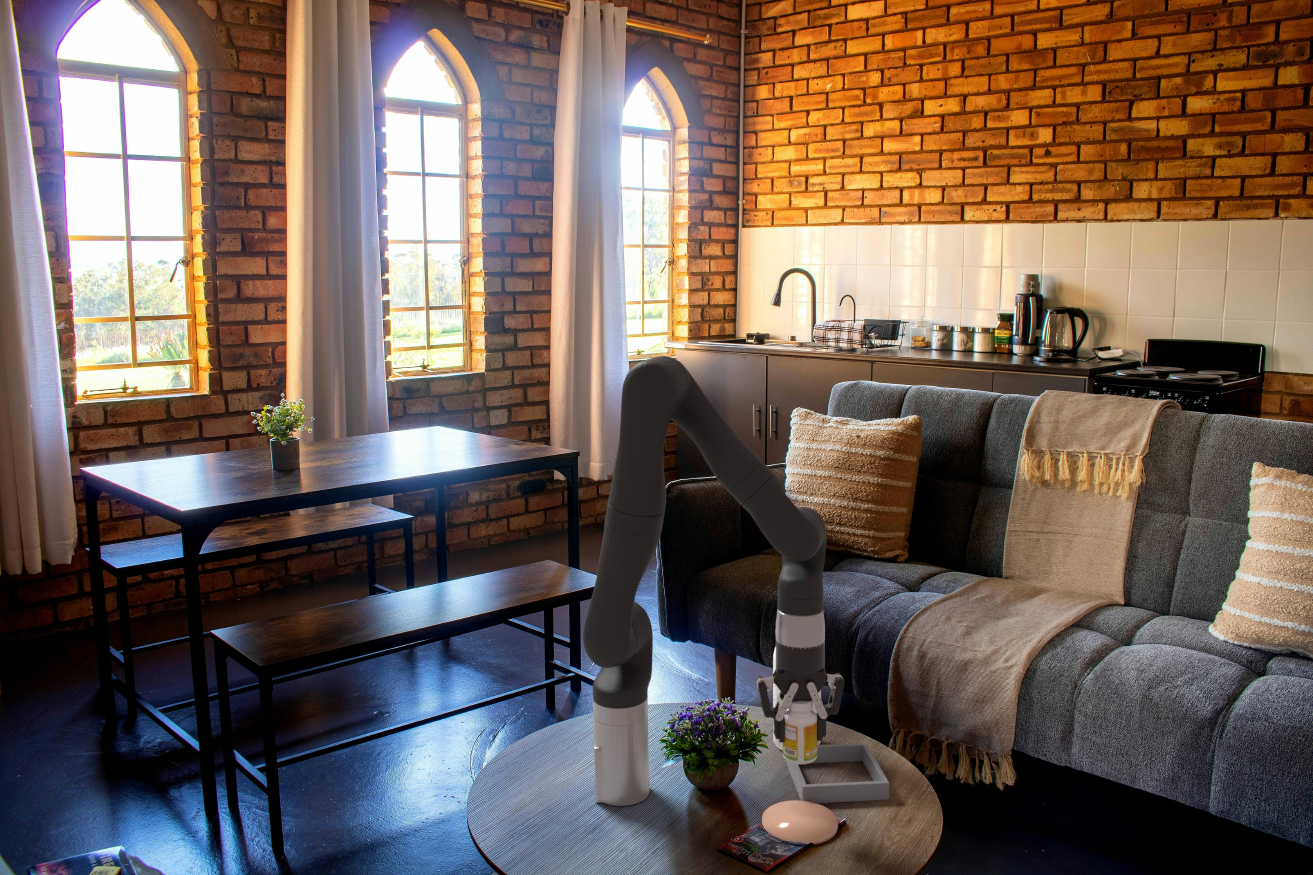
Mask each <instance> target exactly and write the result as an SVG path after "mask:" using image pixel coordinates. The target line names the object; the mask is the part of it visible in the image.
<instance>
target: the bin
mask: <svg viewBox="0 0 1313 875" xmlns="http://www.w3.org/2000/svg"><path fill="white" fill-rule="evenodd" d="M844 762H845V763H846V762H863V764H864V766H865V768H866V770H867V772H868V773H869V775H870V776H871V777H870V778H872V780H873V781H871V780H870V781H853V782H848V781H847V782H836V783H835V782H830V783H829V782H828V783H810V784H807V783H806V780H805V778H804V776H803V773H802V771H801V769H800V766H799V764H794V763H791V762H788V761H787V760H786V759H785V764H786V765H787V768H788V771H789V773H790V776H791V778H792V781H793V783H794V786H795V789H796V791H797V794H798V796H799V799H800V801H808V802H813V803H817V804H826V803H827V804H828V803H829V804H830V803H847V802H865V801H866V802H868V801H872V802H873V801H888V800H890V782H889V780H888V778H887V777H886V775H885V773H884V772H883V770H882V768H881V766H880V764H879V762H878V761H877V760H876V758H875V755H874V754H873V752H872V751H871V749H870V747H869V746H868V744H867V743H866V742H859V743H856V742H855V743H835V744H834V743H832V744H819V745H817V758H816V760H815V761H813V762H811V763H810V764H820V763H821V764H823V763H844Z"/></svg>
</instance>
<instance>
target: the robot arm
mask: <svg viewBox="0 0 1313 875" xmlns="http://www.w3.org/2000/svg"><path fill="white" fill-rule="evenodd" d="M671 421H672V422H673V423H675V424H676V425H677V426H678V427H679V428H681V429H682V431H684V432H685V434H687V436H688V437H689V438H690V439H691V440H692V442H693V443H694V444H695V446H696V448H697V449H698V450H699V452H700V453H701V455H702V456H703V458H704V461H705V462H706V464H707V465H708V467H709V469H710V470H711V472H712V474H713V475H714V476H715V478H716V479H717V480H718V482H719V483H720V484H721V485H722V486H723V488H724V489H725V490H726V491H727V492H728V493H729V494H730V496H732V497H733V498H734V500H735V501H737V503H738V504H739V505H740V506H742V508H743V509H744V510H745V511H746V512H747V513H748V514H749V515H750V516H751V517H752V519H753V521H754V522H755V524H756V526H757V527H758V528H759V530H760V531H761V533H762V534H763V535H764V538H766V540H767V542H769V543H770V545H771V546H772V548H774V550H776V552H777V553H778V554H780V555H781V558H782V559H781V561H782V562H781V571H780V574H779V577H778V580H777V592H776V593H777V595H776V596H777V605H776V606H777V612H776V620H775V630H774V634H775V647H776V669H775V672H774V674H773V673H772V675H771V676H767V677H763V676H761V675H759V676H757V677H756V678H755V683H756V688H757V692H758V696H759V702H760V706H761V710H762V713H763V716H764V717H766V718H768V719H769V718H771V719H772V727H773V726H774V735H775V737H776V739H778V740H779V743H782V742H784V719H783V717H784V715H785V713H786V711H787V709H788V708H789V706H790V704H791V702H796V701H800V700H804V701H811V699H812V700H813V703H814V705H815V708H816V710H817V714H816V715H817V741H820V742H821V741H822V742H823V738H825V737H826V735H827V719H828V718H829V716H832V715H834V716H836V715H838V714H839V711H840V707H841V702H842V697H843V694H844V689H845V683H846V682H845V681H846V680H845V679H844V678H843V676H842V675H841V673H840V672H836V673H834V674H830V673H827V671H826V668H825V659H826V656H825V654H826V652H825V651H826V650H825V648H826V647H825V643H826V642H825V640H826V638H825V637H826V633H825V632H826V625H825V616H824V582H823V581H824V580H823V579H824V576H823V575H824V567H825V561H826V560H825V559H826V551H827V550H826V548H827V526H826V522H825V520H824V519H823V517H822V515H821V514H820V513H819V512H818V511H817V510H815V509H813V508H811V507H808V506H799V507H797V506H796V505H795V503H794V502H793V501H792V500H791V499H790V498H789V497H788V495H787V494H786V489H785V486H784V483H783V482H782V481H781V479H780V478H779V477H778V476H777V475H776V474H775V473H774V472H773V471H772V470H771V469H770V468H769V467H768V465H767V464H765V463H764V461H762V459H760V457H759V456H757V454H756V453H754V452H753V450H752V449H751V448H750V447H749V446H748V445H747V444H746V443H745V442H744V441H743V440H742V438H740V437H739V436H738V434H737V433H736V432H735V431H734V429H732V427H731V426H730V425H729V424H728V423H727V422H726V420H725V419H724V418H723V416H722V415H721V414H720V412H718V410H717V409H716V407H715V406H714V405H713V403H711V401H710V400H709V399H708V397H707V395H705V392H704V391H703V389H702V388H701V387H700V385H699V384H698V383H697V381H696V380H695V379H694V377H693V376H692V374H691V373H690V371H689V370H688V369H687V367H686V366H685V365H684V364H683V363H682V362H681V361H679V359H676V358H674V357H671V356H665V355H661V356H660V355H659V356H658V355H657V356H655V357H651V358H648V359H646V360H643V361H640V362H638V363H636V364H635V365H634V366H633V367H631V368H630V369H629V371H627V374H626V375H625V378H624V380H623V382H622V388H621V403H620V420H619V422H620V423H619V424H620V425H619V439H618V447H617V453H616V457H615V462H614V466H613V467H614V468H613V474H612V479H611V485H610V489H609V490H610V491H609V495H608V501H607V506H606V513H605V518H604V526H603V528H604V529H603V536H602V542H601V546H600V547H601V548H600V554H599V560H598V565H597V571H596V572H597V573H596V577H595V578H596V579H595V583H594V588H593V591H592V595H591V597H590V598H591V599H590V601H589V606H588V609H587V612H586V616H585V621H584V624H583V628H582V642H583V648H584V651H585V653H586V655H587V657H588V658H589V659H590V661H591V662H592V663H593V664H595V665H596V666H597V667H600V669H599V672H598V674H597V675H596V677H595V679H594V681H593V682H592V707H593V708H592V709H593V710H592V711H593V755H594V756H593V757H594V758H593V759H594V760H593V761H594V792H595V794H594V795H595V803H603V804H606V805H609V806H614V807H615V806H617V807H627V806H632V805H636V804H638V803H641V802H643V801H644V800H646V799H647V798H648V796H649V795H650V792H651V791H650V753H649V752H650V751H649V749H650V747H649V743H650V742H649V738H650V737H649V702H648V701H649V698H648V696H649V694H648V693H649V692H648V691H649V685H650V683H651V680H652V675H653V650H654V649H653V645H654V639H653V636H654V635H653V634H654V633H653V626H652V622H651V619H650V616H649V614H648V612H647V611H646V610H645V609H644V607H643V606H642V605H641V604H639V602H636V601H635V600H636V596H637V592H638V588H639V587H640V584H641V581H642V579H643V577H644V575H645V573H646V571H647V569H648V567H649V565H650V563H651V560H652V559H653V557H654V554H655V552H656V550H657V547H658V544H659V542H660V538H661V534H662V530H663V524H664V518H665V514H666V513H665V512H666V507H667V506H666V504H667V487H666V480H665V479H666V477H665V471H664V448H665V443H666V440H667V434H668V430H669V426H670V422H671ZM827 682H828V687H829V688H830V692H829V696H828V700H827V704H823V701H822V698H821V699H820V696H819V694H818V693H819V692H820V690H821V691H822V689H823V688H824V686H825V685H826V683H827ZM773 684H775V685H776V686H777V687H778V688H779V690H780V693H779V695H778V698H777V702H776V704H775V707H773V706H771V703H770V699H769V693H770V692H771V691H772V688H773V687H772V686H773Z"/></svg>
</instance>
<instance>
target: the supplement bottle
mask: <svg viewBox="0 0 1313 875" xmlns="http://www.w3.org/2000/svg"><path fill="white" fill-rule="evenodd" d="M812 708H813V700H812V699H811V701H804V700H800V701H796V702H791V704H790V706H789V708H788V709H787V711H786V713H785V715H784V717H783V719H784V742H783V751H782V757H783V758H784V760H785V761H786V760H787V761H788V762H791V763H794V764H798V765H808V764H812V763H811V762H813V761H815V760H816V758H817V715H816V713H815V712H814V711H813V710H812Z"/></svg>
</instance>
